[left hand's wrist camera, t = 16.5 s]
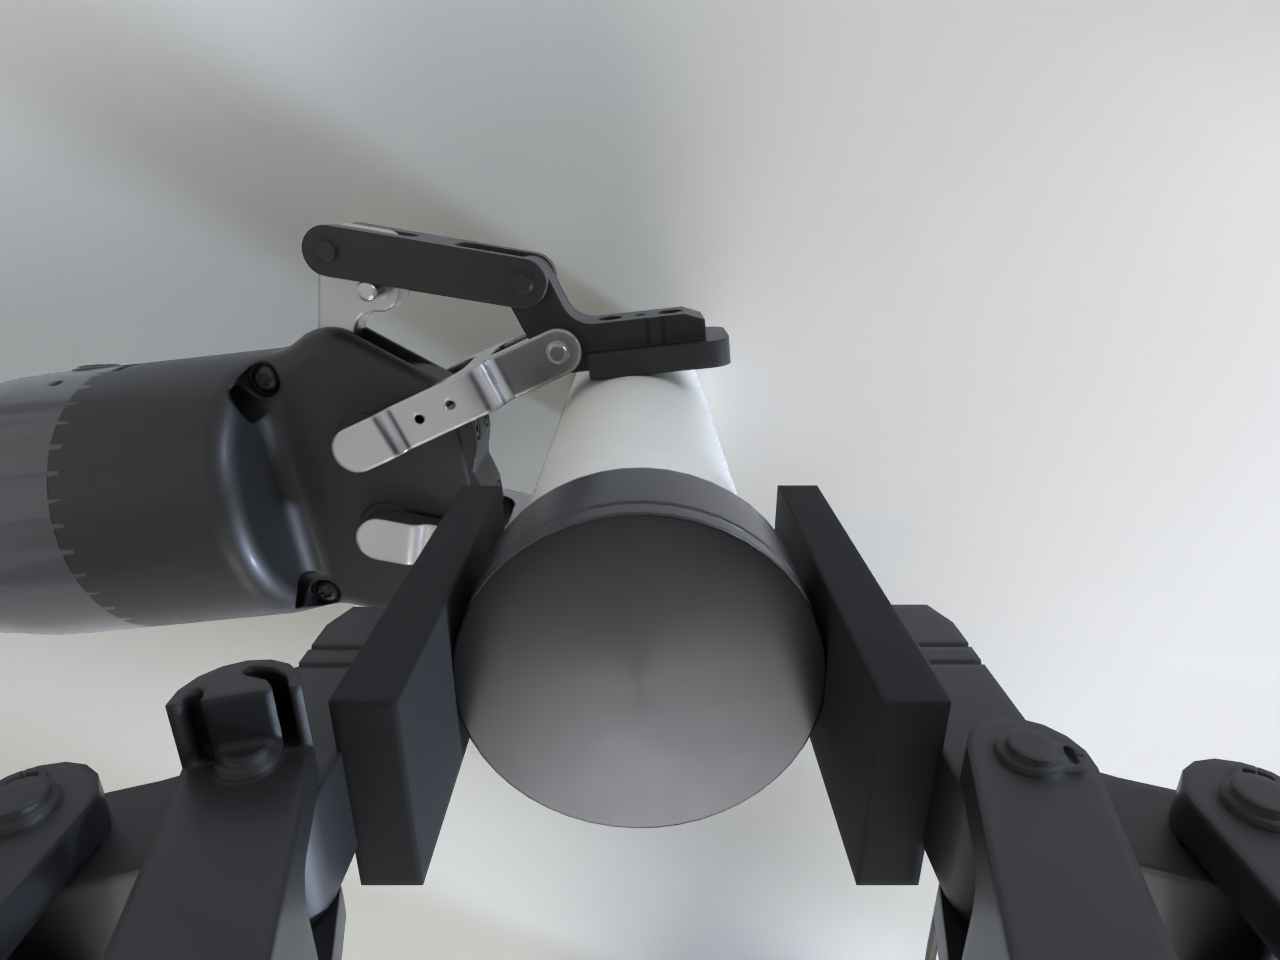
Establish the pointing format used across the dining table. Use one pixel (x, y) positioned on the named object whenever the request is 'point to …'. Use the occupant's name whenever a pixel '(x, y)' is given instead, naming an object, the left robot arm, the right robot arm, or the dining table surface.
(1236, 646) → the dining table surface
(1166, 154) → the dining table surface
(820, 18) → the dining table surface
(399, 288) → the right robot arm
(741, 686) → the lid
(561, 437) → the cylinder
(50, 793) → the left robot arm
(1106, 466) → the dining table surface
